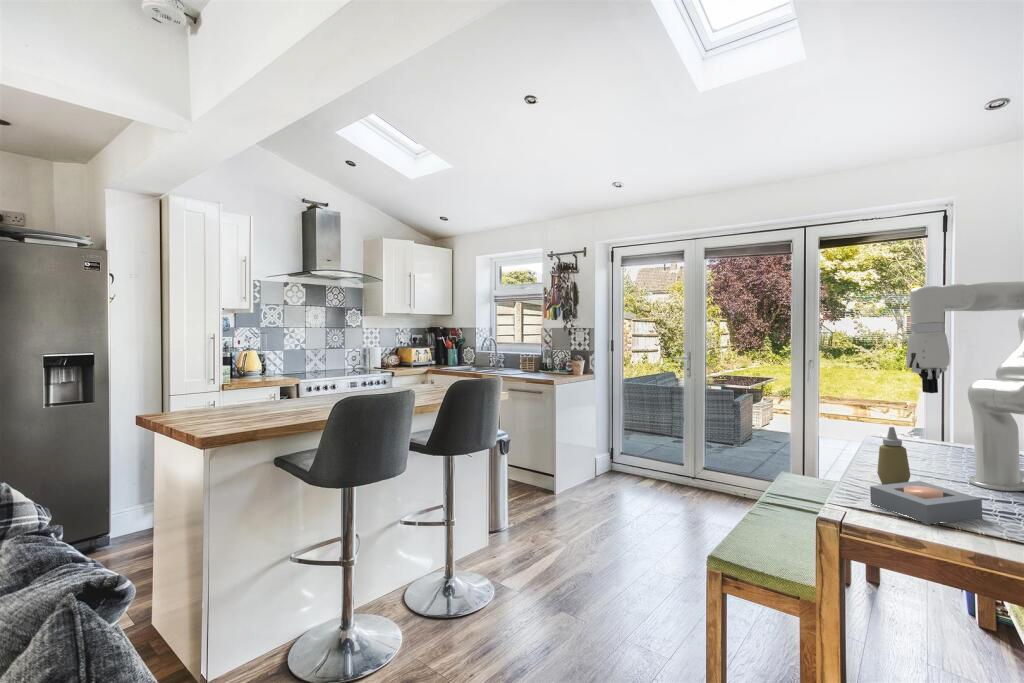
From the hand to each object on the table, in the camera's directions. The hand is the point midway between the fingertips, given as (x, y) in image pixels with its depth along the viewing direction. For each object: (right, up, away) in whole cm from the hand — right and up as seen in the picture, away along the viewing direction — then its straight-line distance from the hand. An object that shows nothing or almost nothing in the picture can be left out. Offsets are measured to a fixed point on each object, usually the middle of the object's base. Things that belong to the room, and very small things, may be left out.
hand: (930, 392), depth 144 cm
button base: (-13, -30, -13) cm, 35 cm away
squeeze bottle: (-5, -30, +7) cm, 31 cm away
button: (-13, -29, -13) cm, 35 cm away
